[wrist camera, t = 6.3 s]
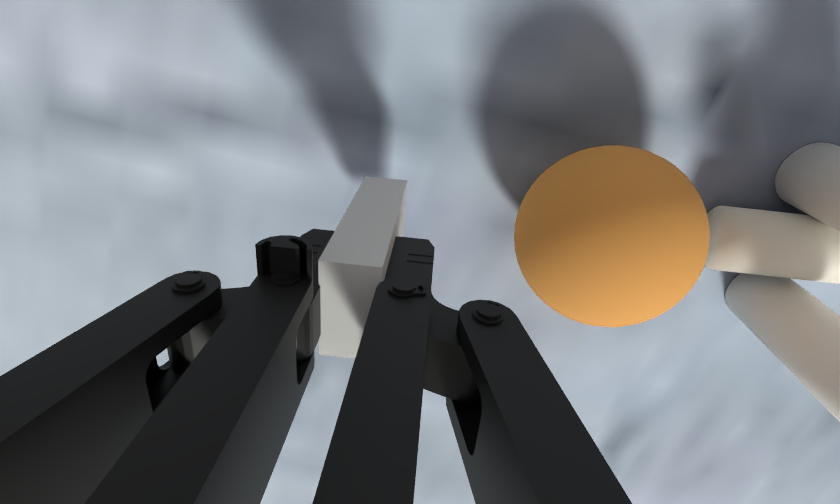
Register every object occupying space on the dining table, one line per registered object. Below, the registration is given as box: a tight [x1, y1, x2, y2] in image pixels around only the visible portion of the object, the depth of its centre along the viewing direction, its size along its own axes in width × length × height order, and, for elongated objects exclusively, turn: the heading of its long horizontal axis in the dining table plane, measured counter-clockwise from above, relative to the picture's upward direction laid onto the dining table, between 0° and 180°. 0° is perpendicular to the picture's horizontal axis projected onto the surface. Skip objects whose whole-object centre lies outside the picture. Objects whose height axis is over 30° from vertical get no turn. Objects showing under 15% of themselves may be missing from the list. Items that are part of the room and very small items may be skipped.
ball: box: [514, 145, 710, 327], centre depth 16 cm, size 6×6×6 cm
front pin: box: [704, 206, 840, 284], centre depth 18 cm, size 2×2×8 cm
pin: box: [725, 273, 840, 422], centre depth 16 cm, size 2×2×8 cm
